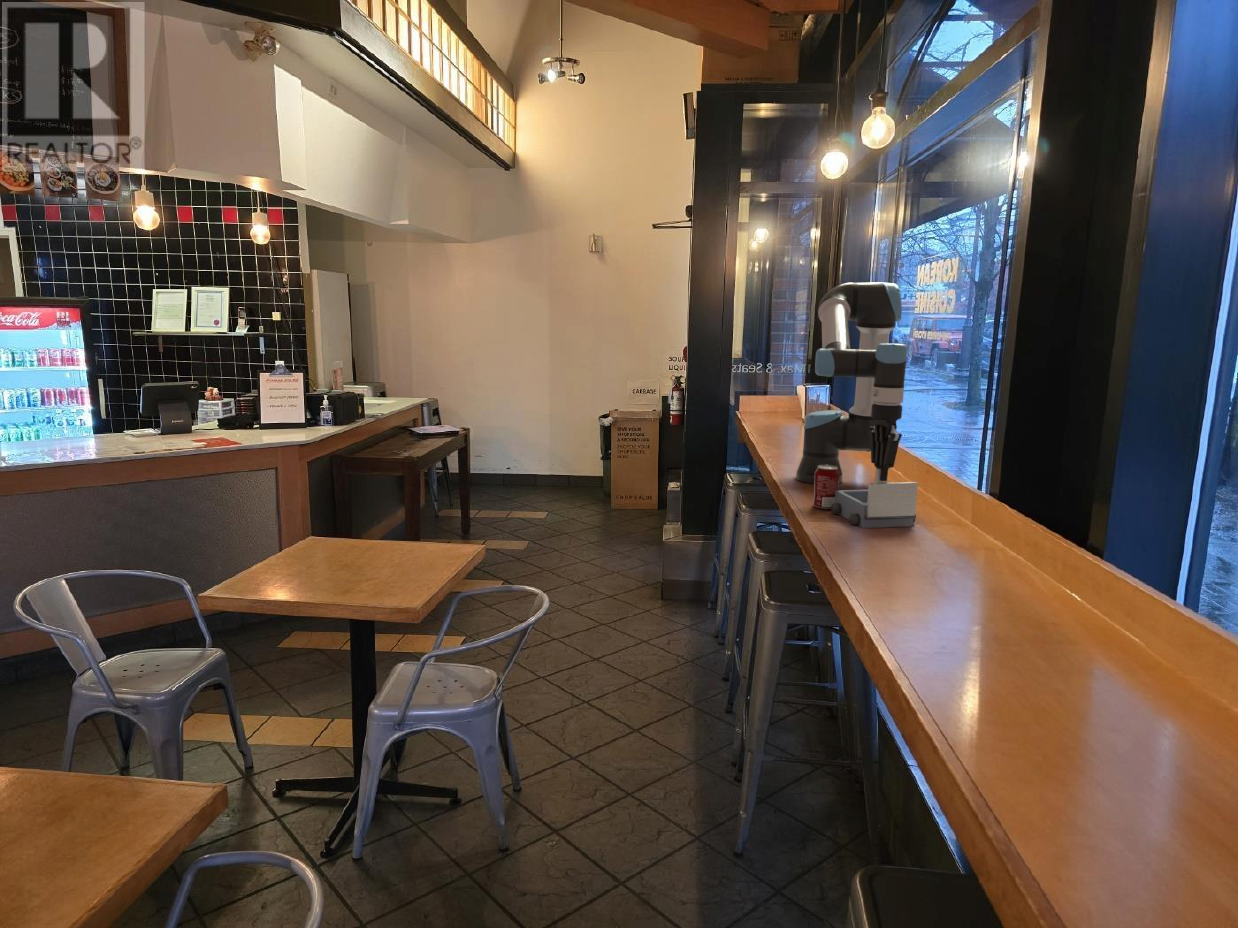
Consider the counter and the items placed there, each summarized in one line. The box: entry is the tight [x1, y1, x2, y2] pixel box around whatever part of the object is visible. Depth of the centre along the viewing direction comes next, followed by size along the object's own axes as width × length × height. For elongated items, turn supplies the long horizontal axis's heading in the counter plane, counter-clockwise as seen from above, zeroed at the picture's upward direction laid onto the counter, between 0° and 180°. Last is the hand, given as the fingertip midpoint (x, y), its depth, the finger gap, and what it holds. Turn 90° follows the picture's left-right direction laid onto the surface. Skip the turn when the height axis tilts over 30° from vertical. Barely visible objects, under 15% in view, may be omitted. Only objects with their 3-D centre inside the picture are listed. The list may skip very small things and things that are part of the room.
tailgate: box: [865, 481, 919, 520], centre depth 191 cm, size 1×14×10 cm, turn 99°
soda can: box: [812, 465, 840, 511], centre depth 211 cm, size 7×7×12 cm
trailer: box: [830, 489, 917, 529], centre depth 201 cm, size 17×17×6 cm
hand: (879, 491), depth 197 cm, fingers closed
